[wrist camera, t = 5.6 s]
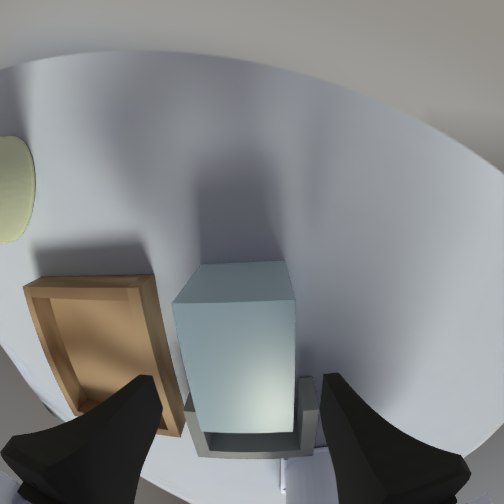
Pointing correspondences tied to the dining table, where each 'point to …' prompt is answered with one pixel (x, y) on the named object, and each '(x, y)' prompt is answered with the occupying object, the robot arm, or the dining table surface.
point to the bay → (261, 443)
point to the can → (15, 188)
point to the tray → (105, 339)
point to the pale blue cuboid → (239, 346)
